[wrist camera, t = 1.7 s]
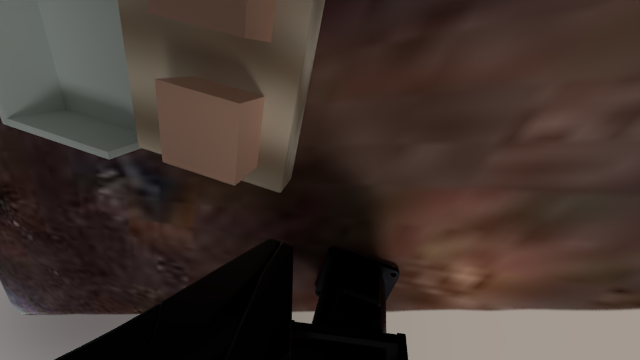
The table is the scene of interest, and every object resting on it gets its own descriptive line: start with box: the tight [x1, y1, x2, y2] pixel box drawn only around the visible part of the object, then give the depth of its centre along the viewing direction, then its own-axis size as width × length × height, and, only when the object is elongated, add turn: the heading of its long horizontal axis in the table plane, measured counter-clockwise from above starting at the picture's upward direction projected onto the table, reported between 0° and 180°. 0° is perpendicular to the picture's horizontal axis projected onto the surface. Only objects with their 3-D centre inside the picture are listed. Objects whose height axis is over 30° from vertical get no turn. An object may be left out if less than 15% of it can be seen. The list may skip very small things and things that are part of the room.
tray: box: [0, 0, 141, 159], centre depth 16 cm, size 17×10×4 cm, turn 167°
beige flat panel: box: [118, 0, 325, 193], centre depth 16 cm, size 16×12×2 cm
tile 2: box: [155, 76, 265, 186], centre depth 15 cm, size 5×5×3 cm
